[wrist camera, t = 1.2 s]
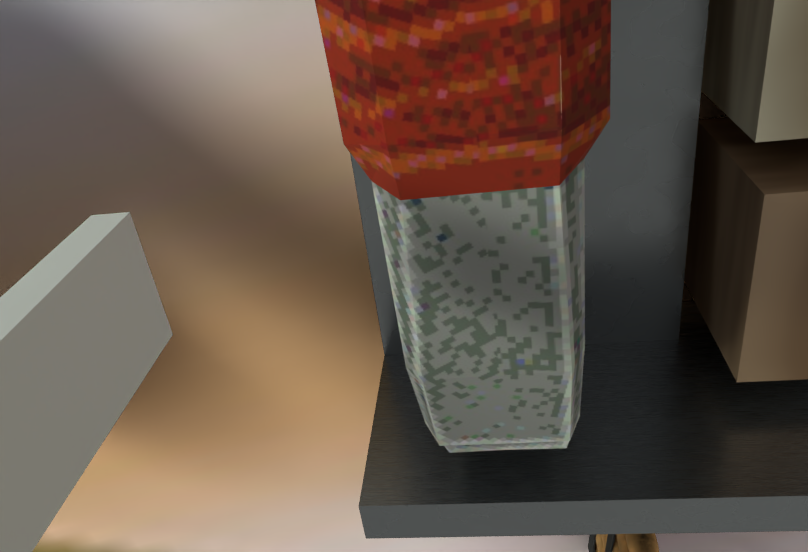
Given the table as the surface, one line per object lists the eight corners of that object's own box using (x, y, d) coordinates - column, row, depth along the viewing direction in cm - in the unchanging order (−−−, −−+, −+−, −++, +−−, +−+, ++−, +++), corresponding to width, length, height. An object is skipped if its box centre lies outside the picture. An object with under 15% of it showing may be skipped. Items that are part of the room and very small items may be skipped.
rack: (395, 346, 42) (365, 538, 30) (254, -531, 24) (34, -943, 12) (798, 324, 39) (945, 528, 27) (996, -700, 21) (1736, -1494, 9)
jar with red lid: (95, -867, 8) (423, 567, 25) (661, -1059, 7) (605, 564, 24) (337, -443, 24) (438, 266, 41) (526, -487, 23) (549, 257, 40)
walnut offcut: (682, 278, 38) (737, 382, 30) (696, 119, 34) (764, 194, 26) (758, 273, 38) (834, 378, 30) (783, 111, 33) (879, 185, 25)
